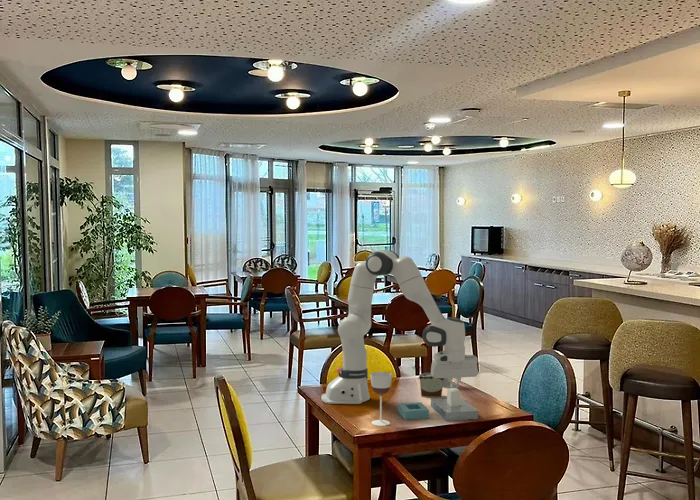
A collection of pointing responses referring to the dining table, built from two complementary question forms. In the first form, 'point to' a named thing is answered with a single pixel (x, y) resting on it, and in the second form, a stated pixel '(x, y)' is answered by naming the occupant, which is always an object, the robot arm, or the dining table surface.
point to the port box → (454, 410)
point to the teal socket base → (413, 410)
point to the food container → (430, 385)
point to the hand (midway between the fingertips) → (454, 387)
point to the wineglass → (381, 391)
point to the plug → (453, 397)
